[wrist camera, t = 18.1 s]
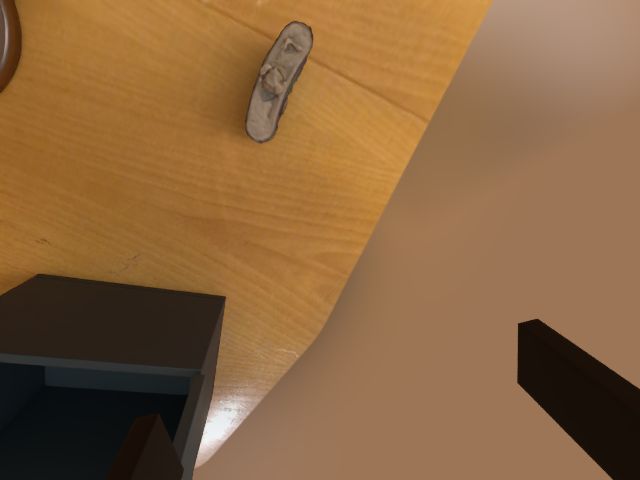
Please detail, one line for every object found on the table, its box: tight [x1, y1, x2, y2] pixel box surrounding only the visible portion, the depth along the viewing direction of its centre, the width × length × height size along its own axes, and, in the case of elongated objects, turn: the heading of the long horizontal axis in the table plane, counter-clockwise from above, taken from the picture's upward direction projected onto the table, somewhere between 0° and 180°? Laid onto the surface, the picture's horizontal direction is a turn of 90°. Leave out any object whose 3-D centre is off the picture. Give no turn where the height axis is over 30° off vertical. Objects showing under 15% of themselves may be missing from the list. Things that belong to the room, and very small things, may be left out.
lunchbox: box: [0, 274, 226, 480], centre depth 32 cm, size 20×15×13 cm
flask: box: [245, 21, 313, 143], centre depth 27 cm, size 9×3×11 cm, turn 154°
